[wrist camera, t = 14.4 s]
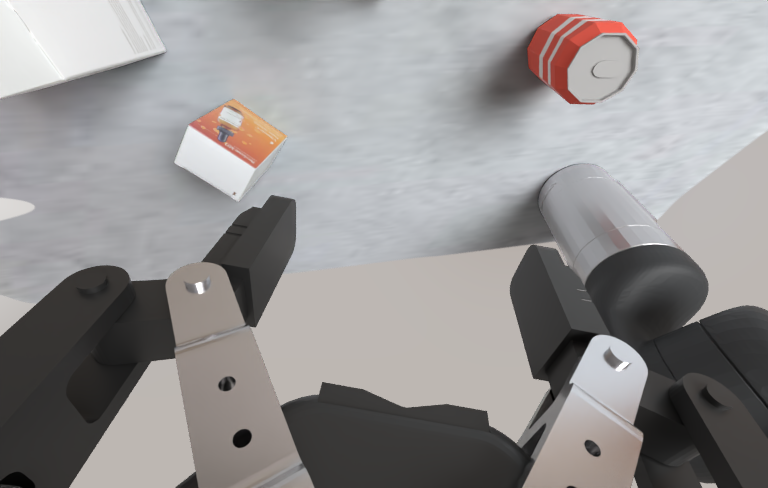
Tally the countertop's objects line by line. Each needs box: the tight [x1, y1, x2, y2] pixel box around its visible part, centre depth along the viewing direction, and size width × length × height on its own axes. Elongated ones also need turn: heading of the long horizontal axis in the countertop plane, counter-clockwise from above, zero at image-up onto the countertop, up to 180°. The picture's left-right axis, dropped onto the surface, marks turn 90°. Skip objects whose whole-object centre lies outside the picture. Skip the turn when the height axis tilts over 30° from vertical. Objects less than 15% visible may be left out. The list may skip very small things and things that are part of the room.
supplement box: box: [0, 0, 166, 99], centre depth 33 cm, size 9×9×15 cm
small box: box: [174, 99, 287, 202], centre depth 42 cm, size 8×6×10 cm
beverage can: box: [527, 14, 639, 104], centre depth 32 cm, size 6×6×12 cm
